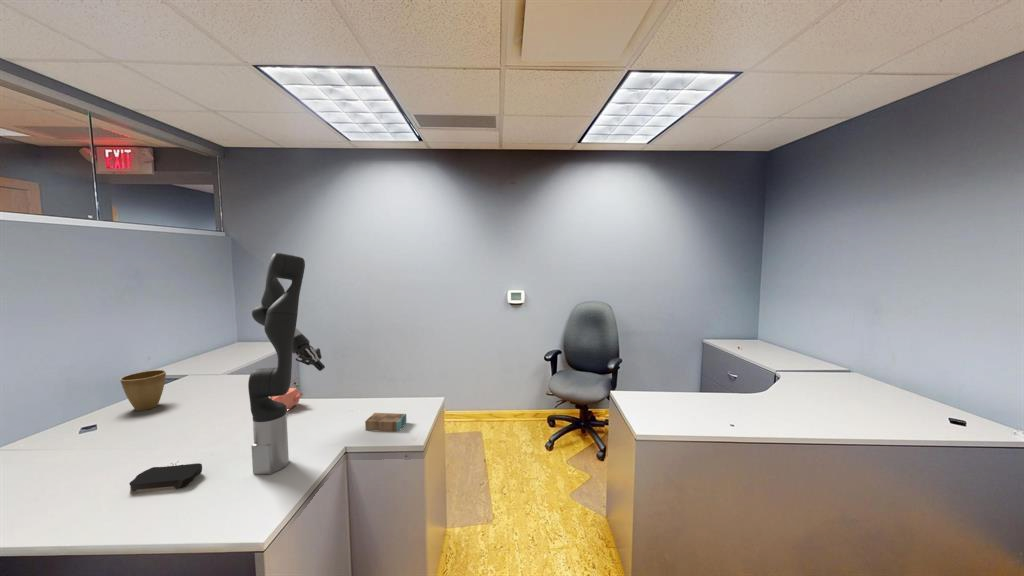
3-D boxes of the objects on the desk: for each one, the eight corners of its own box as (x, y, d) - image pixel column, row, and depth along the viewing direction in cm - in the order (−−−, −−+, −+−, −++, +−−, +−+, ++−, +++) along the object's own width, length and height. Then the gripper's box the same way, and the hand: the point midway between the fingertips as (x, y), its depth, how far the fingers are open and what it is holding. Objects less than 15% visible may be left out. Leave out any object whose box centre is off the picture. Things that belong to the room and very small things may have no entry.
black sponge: (206, 473, 112) (206, 462, 112) (186, 489, 104) (185, 478, 104) (149, 478, 110) (148, 467, 110) (123, 495, 101) (122, 483, 101)
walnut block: (365, 430, 141) (398, 431, 140) (365, 421, 141) (398, 422, 139) (374, 421, 149) (406, 422, 148) (374, 412, 149) (406, 413, 147)
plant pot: (137, 403, 169) (135, 371, 168) (175, 400, 174) (173, 368, 173) (113, 416, 155) (110, 381, 154) (155, 411, 160) (152, 377, 159)
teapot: (303, 408, 163) (303, 388, 163) (273, 415, 155) (272, 394, 155) (298, 401, 172) (297, 382, 171) (269, 407, 164) (268, 387, 163)
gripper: (288, 336, 139) (318, 367, 138) (310, 330, 152) (337, 359, 151) (276, 349, 139) (306, 380, 139) (299, 342, 153) (326, 370, 152)
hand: (322, 369), depth 145 cm, fingers closed
